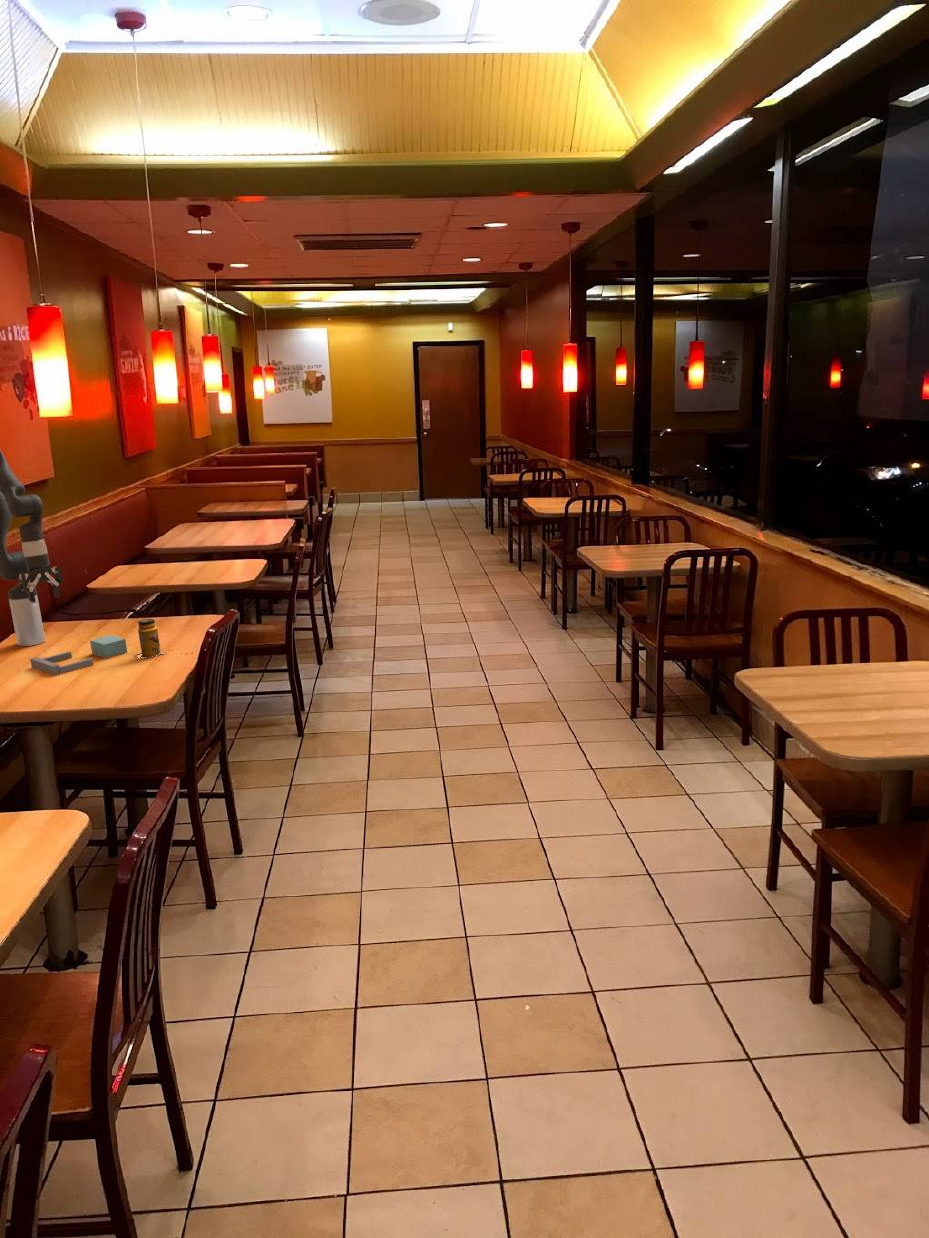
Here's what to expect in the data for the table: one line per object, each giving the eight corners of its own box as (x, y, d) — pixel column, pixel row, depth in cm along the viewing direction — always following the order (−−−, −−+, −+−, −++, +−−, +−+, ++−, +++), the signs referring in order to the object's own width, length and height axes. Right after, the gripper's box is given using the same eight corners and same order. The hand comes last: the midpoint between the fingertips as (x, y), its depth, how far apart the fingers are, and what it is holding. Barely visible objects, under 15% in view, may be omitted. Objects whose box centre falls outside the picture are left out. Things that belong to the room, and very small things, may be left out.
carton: (92, 654, 315) (89, 640, 314) (112, 648, 321) (110, 634, 319) (106, 658, 309) (104, 644, 307) (127, 653, 314) (125, 638, 313)
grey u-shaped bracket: (31, 667, 304) (30, 658, 303) (70, 657, 313) (68, 648, 312) (54, 675, 293) (52, 666, 292) (93, 664, 302) (92, 655, 301)
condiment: (164, 654, 308) (159, 620, 305) (138, 660, 304) (133, 625, 301) (158, 650, 314) (153, 616, 311) (133, 655, 310) (127, 621, 307)
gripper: (49, 549, 325) (59, 594, 328) (10, 557, 314) (19, 603, 318) (60, 550, 320) (70, 595, 324) (20, 557, 309) (30, 604, 313)
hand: (45, 599), depth 321 cm, fingers open, 8 cm apart
